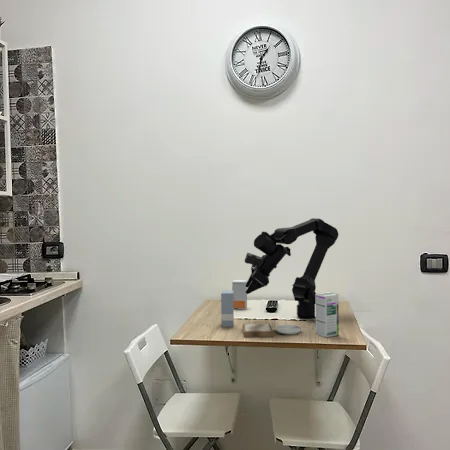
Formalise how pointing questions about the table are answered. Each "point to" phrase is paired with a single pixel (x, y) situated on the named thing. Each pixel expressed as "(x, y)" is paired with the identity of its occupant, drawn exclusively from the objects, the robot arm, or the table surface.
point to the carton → (227, 309)
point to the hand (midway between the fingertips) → (246, 290)
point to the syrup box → (327, 314)
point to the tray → (257, 330)
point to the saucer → (288, 329)
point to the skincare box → (239, 294)
